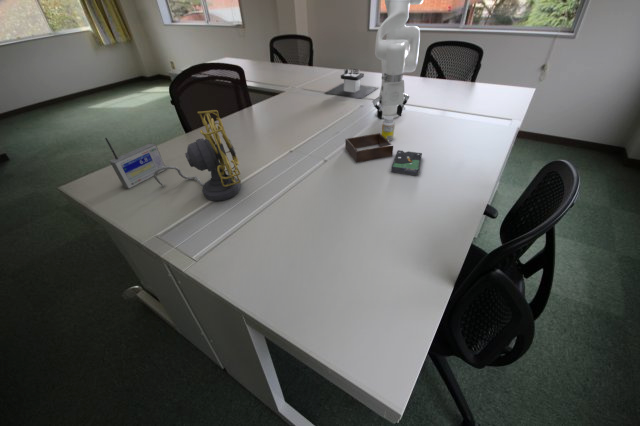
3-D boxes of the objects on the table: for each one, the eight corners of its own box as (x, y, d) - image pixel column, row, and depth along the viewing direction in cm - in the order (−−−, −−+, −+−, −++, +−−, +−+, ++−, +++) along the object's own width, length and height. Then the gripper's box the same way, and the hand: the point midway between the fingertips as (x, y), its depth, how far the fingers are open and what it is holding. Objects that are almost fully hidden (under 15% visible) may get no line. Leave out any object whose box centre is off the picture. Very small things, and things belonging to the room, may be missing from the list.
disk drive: (396, 155, 127) (390, 172, 116) (397, 149, 125) (391, 166, 114) (421, 158, 124) (418, 176, 113) (422, 152, 122) (419, 169, 111)
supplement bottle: (384, 135, 143) (386, 114, 137) (395, 138, 140) (397, 117, 134) (378, 139, 140) (380, 118, 134) (389, 142, 137) (391, 120, 131)
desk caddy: (378, 143, 137) (379, 133, 134) (392, 156, 126) (393, 145, 123) (345, 149, 134) (345, 138, 131) (356, 162, 123) (356, 151, 120)
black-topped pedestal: (378, 87, 205) (379, 66, 196) (361, 98, 188) (362, 76, 180) (343, 83, 217) (343, 63, 209) (324, 93, 200) (323, 72, 192)
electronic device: (128, 189, 115) (103, 141, 103) (119, 184, 118) (93, 138, 106) (167, 169, 126) (148, 124, 114) (157, 165, 129) (138, 121, 117)
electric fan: (248, 205, 103) (228, 122, 85) (151, 224, 97) (106, 140, 78) (242, 169, 123) (224, 96, 104) (161, 184, 117) (127, 108, 98)
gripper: (378, 82, 119) (375, 123, 130) (416, 77, 122) (410, 116, 133) (370, 77, 125) (368, 116, 136) (407, 72, 128) (402, 111, 139)
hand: (389, 116), depth 134 cm, fingers open, 9 cm apart
